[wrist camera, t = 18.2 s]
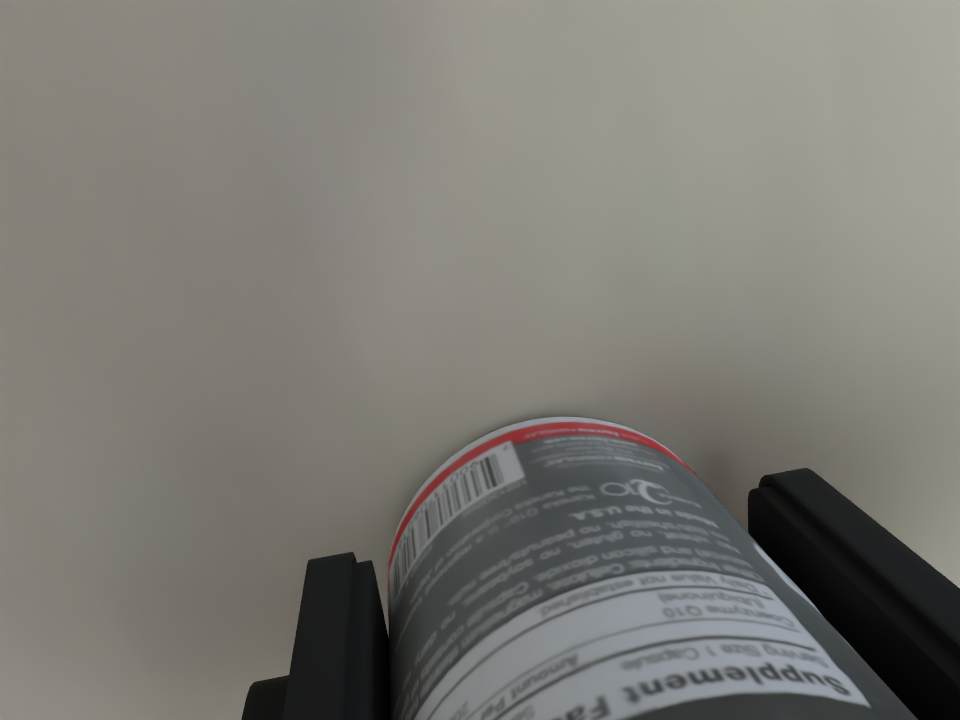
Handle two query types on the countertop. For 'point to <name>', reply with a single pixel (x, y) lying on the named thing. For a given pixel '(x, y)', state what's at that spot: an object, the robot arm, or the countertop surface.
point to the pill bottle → (601, 594)
